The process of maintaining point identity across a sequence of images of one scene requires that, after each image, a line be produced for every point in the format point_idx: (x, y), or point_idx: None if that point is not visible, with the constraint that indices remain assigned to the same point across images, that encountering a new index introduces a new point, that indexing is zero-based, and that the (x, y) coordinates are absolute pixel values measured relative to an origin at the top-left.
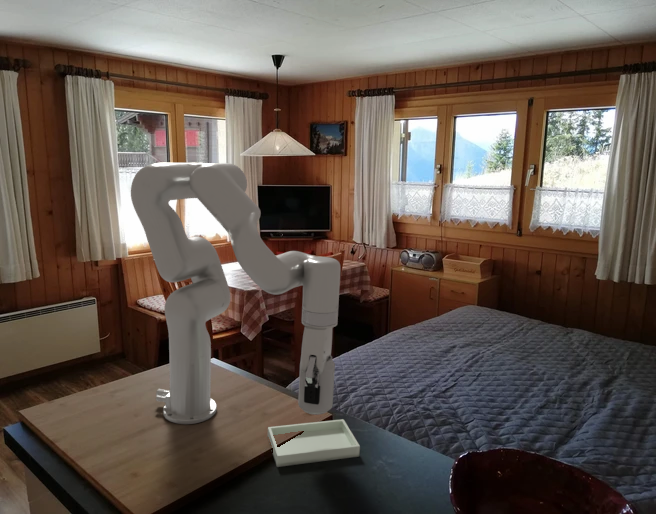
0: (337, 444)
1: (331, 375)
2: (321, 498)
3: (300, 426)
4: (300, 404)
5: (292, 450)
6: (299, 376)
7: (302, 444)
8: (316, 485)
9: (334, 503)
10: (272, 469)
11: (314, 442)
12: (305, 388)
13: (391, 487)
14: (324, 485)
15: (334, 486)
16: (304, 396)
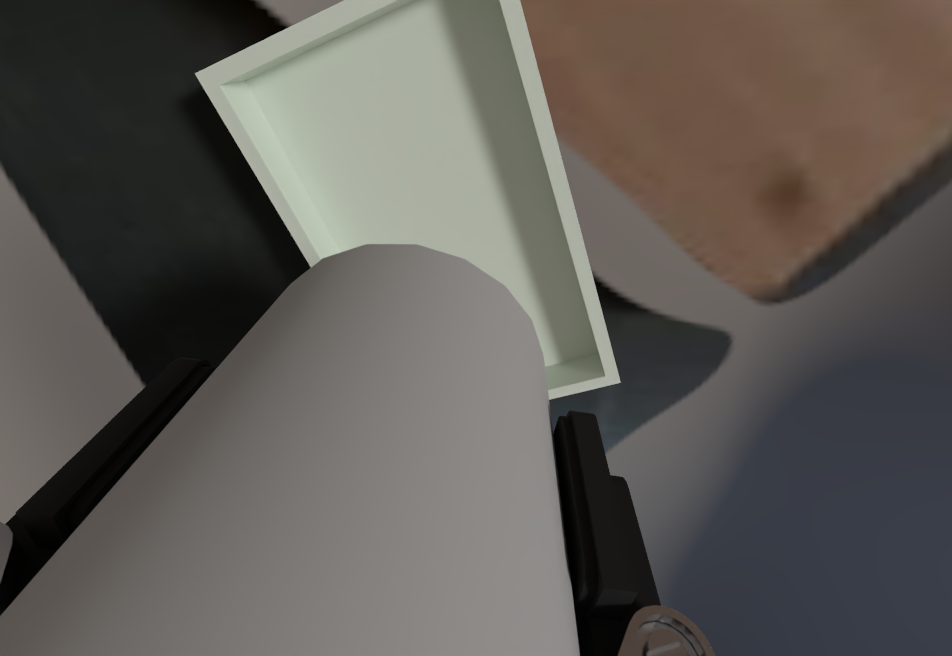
0: None
1: None
2: (128, 286)
3: (548, 172)
4: (300, 280)
5: (367, 140)
6: (221, 454)
7: (432, 187)
8: (188, 265)
9: (128, 327)
10: (202, 45)
11: (462, 244)
12: (64, 478)
13: None
14: (203, 293)
15: (214, 326)
16: (140, 395)
